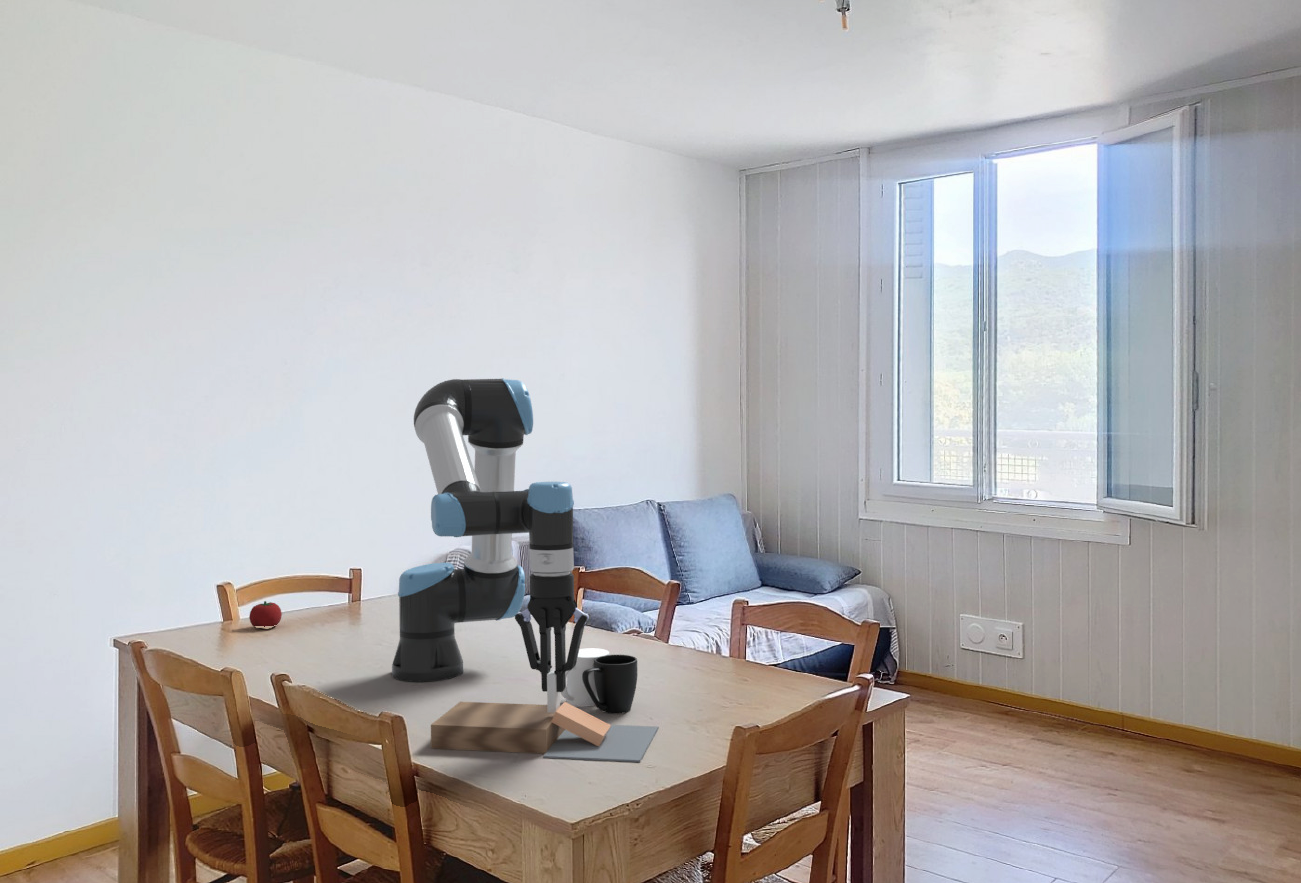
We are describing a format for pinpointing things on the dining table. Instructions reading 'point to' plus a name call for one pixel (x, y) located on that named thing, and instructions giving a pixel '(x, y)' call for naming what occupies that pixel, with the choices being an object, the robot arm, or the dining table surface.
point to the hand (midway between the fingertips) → (553, 710)
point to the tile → (581, 723)
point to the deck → (496, 728)
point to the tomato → (265, 614)
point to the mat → (605, 745)
